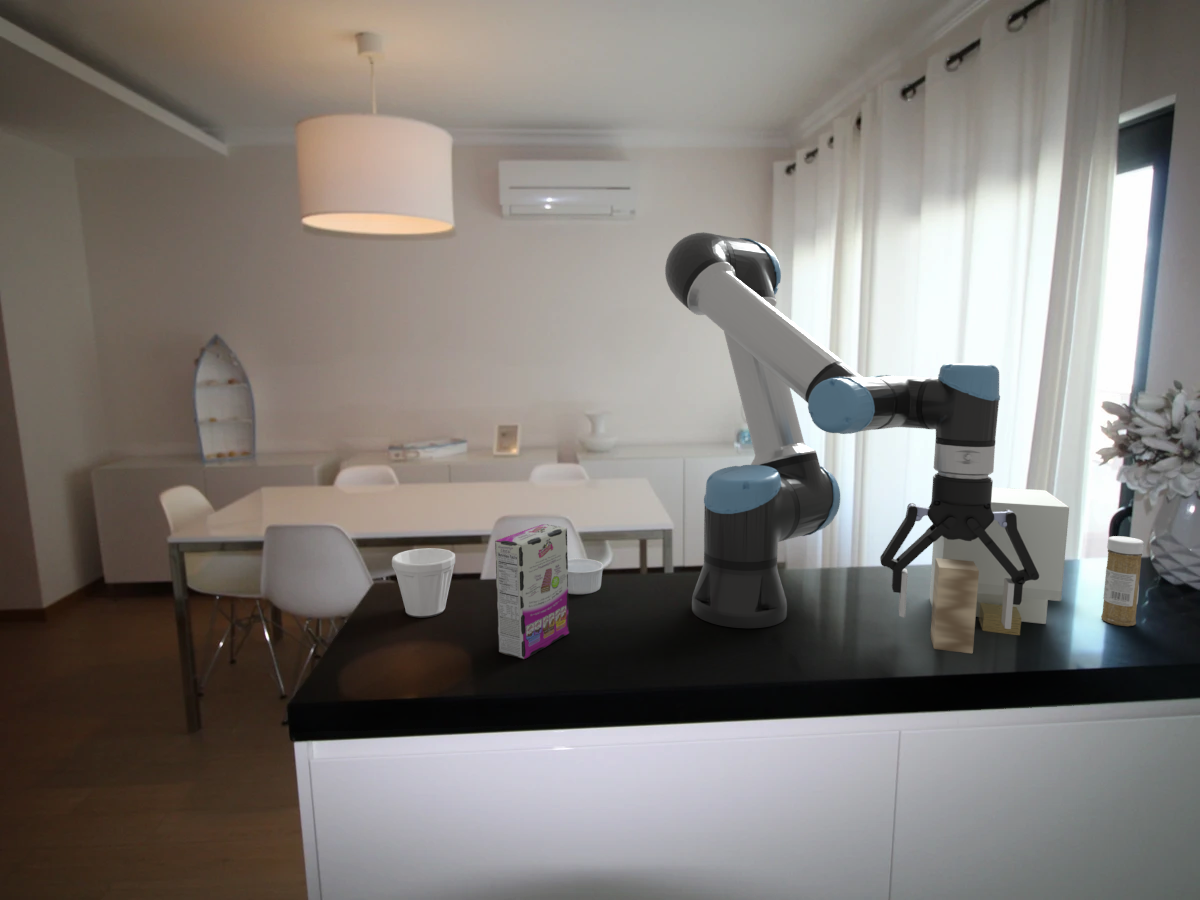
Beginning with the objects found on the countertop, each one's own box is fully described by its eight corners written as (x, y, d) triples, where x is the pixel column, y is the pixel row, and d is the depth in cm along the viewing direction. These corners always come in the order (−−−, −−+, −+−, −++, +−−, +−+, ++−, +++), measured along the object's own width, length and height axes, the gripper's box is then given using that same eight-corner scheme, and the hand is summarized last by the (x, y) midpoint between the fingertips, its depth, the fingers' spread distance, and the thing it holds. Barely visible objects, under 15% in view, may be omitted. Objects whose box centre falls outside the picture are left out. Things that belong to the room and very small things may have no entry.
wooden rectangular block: (933, 648, 103) (939, 567, 102) (924, 613, 118) (928, 541, 116) (972, 653, 102) (978, 570, 100) (958, 616, 116) (963, 543, 115)
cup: (381, 612, 117) (379, 556, 116) (433, 597, 125) (432, 544, 123) (416, 627, 111) (414, 569, 109) (469, 611, 118) (468, 555, 117)
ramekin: (574, 577, 136) (574, 555, 136) (613, 586, 131) (613, 563, 131) (543, 589, 129) (543, 566, 129) (583, 599, 124) (583, 575, 124)
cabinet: (938, 626, 112) (946, 499, 109) (929, 598, 125) (936, 484, 122) (1057, 640, 107) (1069, 507, 104) (1035, 609, 120) (1045, 490, 117)
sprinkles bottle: (1140, 623, 114) (1149, 539, 112) (1128, 629, 111) (1137, 544, 109) (1107, 614, 117) (1115, 533, 116) (1094, 620, 115) (1102, 537, 113)
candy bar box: (542, 627, 111) (542, 523, 109) (570, 634, 108) (569, 527, 106) (495, 653, 101) (493, 538, 99) (523, 661, 99) (522, 543, 97)
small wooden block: (982, 631, 111) (983, 613, 110) (978, 620, 115) (980, 602, 115) (1019, 637, 109) (1021, 617, 108) (1014, 625, 113) (1016, 607, 113)
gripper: (868, 473, 102) (861, 617, 105) (1073, 483, 94) (1059, 640, 97) (867, 465, 109) (860, 601, 112) (1058, 475, 101) (1045, 621, 104)
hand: (952, 619), depth 104 cm, fingers open, 13 cm apart
